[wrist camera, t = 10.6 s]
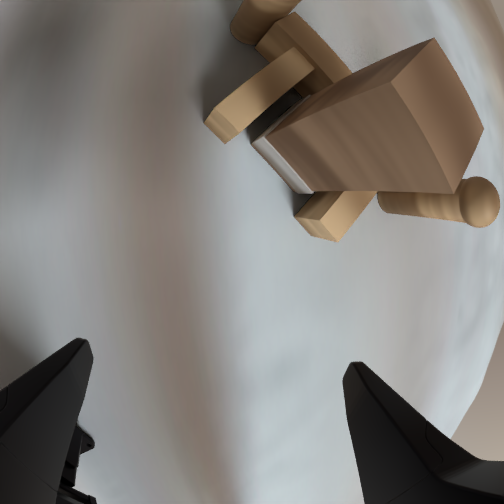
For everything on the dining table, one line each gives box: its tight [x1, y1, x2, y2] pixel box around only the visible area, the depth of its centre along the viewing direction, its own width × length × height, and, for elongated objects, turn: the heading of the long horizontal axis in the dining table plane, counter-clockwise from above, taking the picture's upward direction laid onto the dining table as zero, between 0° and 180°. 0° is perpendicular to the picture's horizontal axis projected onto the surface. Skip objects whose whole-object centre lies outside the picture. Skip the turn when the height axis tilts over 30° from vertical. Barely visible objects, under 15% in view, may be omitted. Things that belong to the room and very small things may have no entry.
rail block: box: [251, 38, 484, 194], centre depth 14 cm, size 5×5×13 cm
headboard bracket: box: [204, 0, 500, 242], centre depth 15 cm, size 10×21×11 cm, turn 46°
